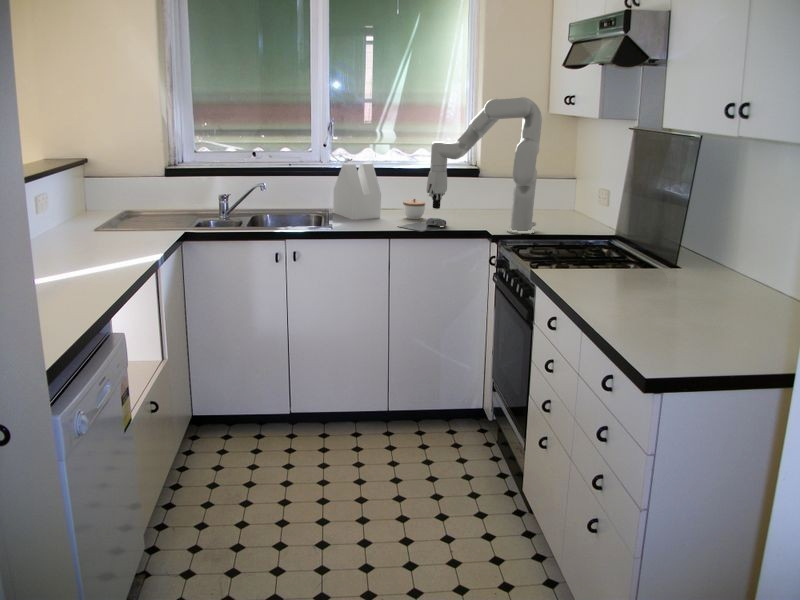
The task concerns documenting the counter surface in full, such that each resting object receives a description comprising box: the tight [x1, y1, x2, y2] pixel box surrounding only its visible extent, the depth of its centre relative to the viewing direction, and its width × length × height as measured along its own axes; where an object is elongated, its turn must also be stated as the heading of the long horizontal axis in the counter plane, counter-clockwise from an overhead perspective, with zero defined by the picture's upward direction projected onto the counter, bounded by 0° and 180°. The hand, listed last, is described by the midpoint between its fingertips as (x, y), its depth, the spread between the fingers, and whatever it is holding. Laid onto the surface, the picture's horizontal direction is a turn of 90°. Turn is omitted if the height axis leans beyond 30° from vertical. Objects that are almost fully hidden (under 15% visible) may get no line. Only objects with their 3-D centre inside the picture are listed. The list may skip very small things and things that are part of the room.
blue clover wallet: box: [425, 217, 447, 227], centre depth 376 cm, size 9×3×11 cm
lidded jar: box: [402, 198, 426, 220], centre depth 394 cm, size 11×11×9 cm
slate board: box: [397, 221, 445, 233], centre depth 374 cm, size 17×14×1 cm
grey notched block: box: [332, 162, 382, 221], centre depth 393 cm, size 19×15×25 cm
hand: (436, 208), depth 380 cm, fingers closed
